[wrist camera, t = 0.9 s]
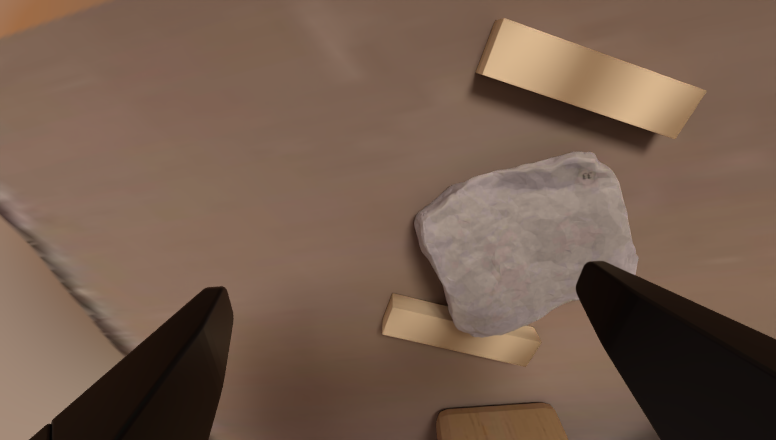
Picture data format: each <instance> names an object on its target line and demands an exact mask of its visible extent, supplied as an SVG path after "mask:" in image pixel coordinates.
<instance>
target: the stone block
mask: <svg viewBox="0 0 776 440" xmlns="http://www.w3.org/2000/svg"><path fill="white" fill-rule="evenodd" d="M414 226H415V230H416V234H417V237H418V240H419V246H420V248H421V251H422V253H423V254H424V255H425V256H426V257H427V259H428V260H429V261H430V263H431V265H432V267H433V269H434V270H435V272H436V274H437V275H438V278H439V280H440V281H441V283H442V285H443V288H444V293H445V296H446V301H447V304H448V310H449V313H450V315H451V317H452V319H453V323H454V325H455V327H456V328H457V329H458V330H460V331H462V332H465V333H469V334H470V335H471V336H473V337H481V338H483V337H489V336H493V335H500V336H501V335H503V334H506V333H508V332H511V331H514V330H516V329H518V328H520V327H522V326H526V325H528V324H530V323H532V322H535V321H537V320H539V319H540V318H542V317H543V316H545V315H546V314H547V313H549V312H550V311H551V310H553V309H555V308H557V307H558V306H560V305H562V304H564V303H567V302H570V301H574V300H579V298H578V296H577V293H576V283H577V281H578V278H579V276H580V273H581V271H582V269H583V266H584V264H586V263H587V262H589V261H605V262H607V263H610V264H612V265H614V266H616V267H618V268H620V269H623V270H625V271H627V272H629V273H631V274H634V275H635V274H636V269H637V262H638V256H637V255H636V249H635V247H634V245H633V243H632V238H631V232H630V227H629V223H628V217H627V210H626V207H625V204H624V200H623V196H622V192H621V188H620V184H619V182H618V180H617V178H616V176H615V174H614V172H613V171H612V170H611V169H610V168H609V167H608V166H606V165H605V164H603V163H601V162H599V161H598V160H597V158H596V156H595V154H594V153H592V152H571V153H568V154H564V155H561V156H557V157H552V158H549V159H546V160H542V161H539V162H536V163H530V164H523V165H521V166H518V167H515V168H511V169H504V170H496V171H493V172H490V173H487V174H483V175H479V176H475V177H473V178H471V179H469V180H467V181H466V182H464V183H458V184H454V185H451V186H450V187H448V188H447V189H446V190H445V191H444V192H443V193H442V194H441V195H440V196H439V197H437V198H436V199H435V200H434V201H432V202H431V203H430V204H429V205H427V206H426V207H425V208H424V209H423V210H421V211H420V212H418V213H417V215H416V218H415V220H414Z"/></svg>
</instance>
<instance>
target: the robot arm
mask: <svg viewBox="0 0 776 440" xmlns="http://www.w3.org/2000/svg"><path fill="white" fill-rule="evenodd" d="M576 293H577V296H578V298H579V300H580V302H581V304H582V306H583V308H584V310H585V312H586V314H587V316H588V318H589V320H590V322H591V324H592V326H593V328H594V330H595V332H596V334H597V336H598V338H599V340H600V342H601V344H602V345H603V347H604V349H605V351H606V352H607V354H608V356H609V357H610V359H611V360H612V362H613V364H614V365H615V367H616V368H617V370H618V372H619V373H620V375H621V376H622V378H623V380H624V381H625V383H626V385H627V386H628V388H629V389H630V391H631V393H632V394H633V396H634V397H635V399H636V401H637V402H638V404H639V405H640V407H641V409H642V410H643V412H644V414H645V415H646V417H647V418H648V420H649V422H650V423H651V425H652V426H653V428H654V430H655V431H656V433H657V434H658V436H659V438H660V439H661V440H776V339H774V338H772V337H769V336H767V335H765V334H763V333H761V332H759V331H756V330H754V329H752V328H750V327H748V326H745V325H743V324H741V323H739V322H737V321H734V320H732V319H730V318H728V317H726V316H723V315H721V314H719V313H717V312H715V311H713V310H710V309H708V308H706V307H704V306H702V305H699V304H697V303H695V302H693V301H691V300H688V299H686V298H684V297H682V296H680V295H677V294H675V293H673V292H671V291H669V290H666V289H664V288H662V287H660V286H658V285H656V284H653V283H651V282H649V281H647V280H645V279H642V278H640V277H638V276H636V275H634V274H631V273H629V272H627V271H625V270H623V269H620V268H618V267H616V266H614V265H612V264H610V263H607V262H605V261H589V262H587V263H586V264H584V266H583V269H582V271H581V273H580V276H579V278H578V281H577V283H576ZM232 326H233V310H232V307H231V303H230V299H229V296H228V292H227V290H226V288H225V287H223V286H220V287H208V288H205V289H203V290H202V291H201V292H200V293H198V294H197V295H196V296H195V297H194V298H193V299H192V300H190V301H189V302H188V303H187V304H186V305H185V306H183V307H182V308H181V309H180V310H179V311H178V312H176V313H175V314H174V315H173V316H172V317H171V318H170V319H168V320H167V321H166V322H165V323H164V324H163V325H161V326H160V327H159V328H158V329H157V330H156V331H155V332H153V333H152V334H151V335H150V336H149V337H148V338H146V339H145V340H144V341H143V342H142V343H141V344H139V345H138V346H137V347H136V348H135V349H134V350H133V351H131V352H130V353H129V354H128V355H127V356H126V357H124V358H123V359H122V360H121V361H120V362H119V363H117V364H116V365H115V366H114V367H113V368H112V369H111V370H109V371H108V372H107V373H106V374H105V375H104V376H102V377H101V378H100V379H99V380H98V381H97V382H96V383H94V384H93V385H92V386H91V387H90V388H89V389H87V390H86V391H85V392H84V393H83V394H82V395H81V396H79V397H78V398H77V399H76V400H75V401H74V402H72V403H71V404H70V405H69V406H68V407H67V408H65V409H64V410H63V411H62V412H61V413H60V414H59V415H57V416H56V417H55V418H54V419H53V420H52V423H51V424H47V425H46V426H44V428H42V429H41V430H40V431H39V432H37V433H36V434H35V435H34V436H33V437H32V438H31V439H29V440H208V439H209V436H210V432H211V428H212V425H213V421H214V418H215V414H216V410H217V407H218V403H219V400H220V396H221V392H222V388H223V383H224V377H225V371H226V365H227V359H228V352H229V346H230V339H231V333H232Z"/></svg>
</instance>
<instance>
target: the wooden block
mask: <svg viewBox="0 0 776 440" xmlns="http://www.w3.org/2000/svg"><path fill="white" fill-rule="evenodd" d="M436 430H437V440H568V438H567V435H566V433H565V431H564V429H563V427H562V425H561V422H560V420H559V418H558V416H557V414H556V412H555V410H554V409H553V408H552V407H551V405H550V404H546V403H529V404H515V405H501V406H487V407H473V408H458V409H446V410H444V411H442V412H440V413H439V415H438V419H437V422H436Z"/></svg>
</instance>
